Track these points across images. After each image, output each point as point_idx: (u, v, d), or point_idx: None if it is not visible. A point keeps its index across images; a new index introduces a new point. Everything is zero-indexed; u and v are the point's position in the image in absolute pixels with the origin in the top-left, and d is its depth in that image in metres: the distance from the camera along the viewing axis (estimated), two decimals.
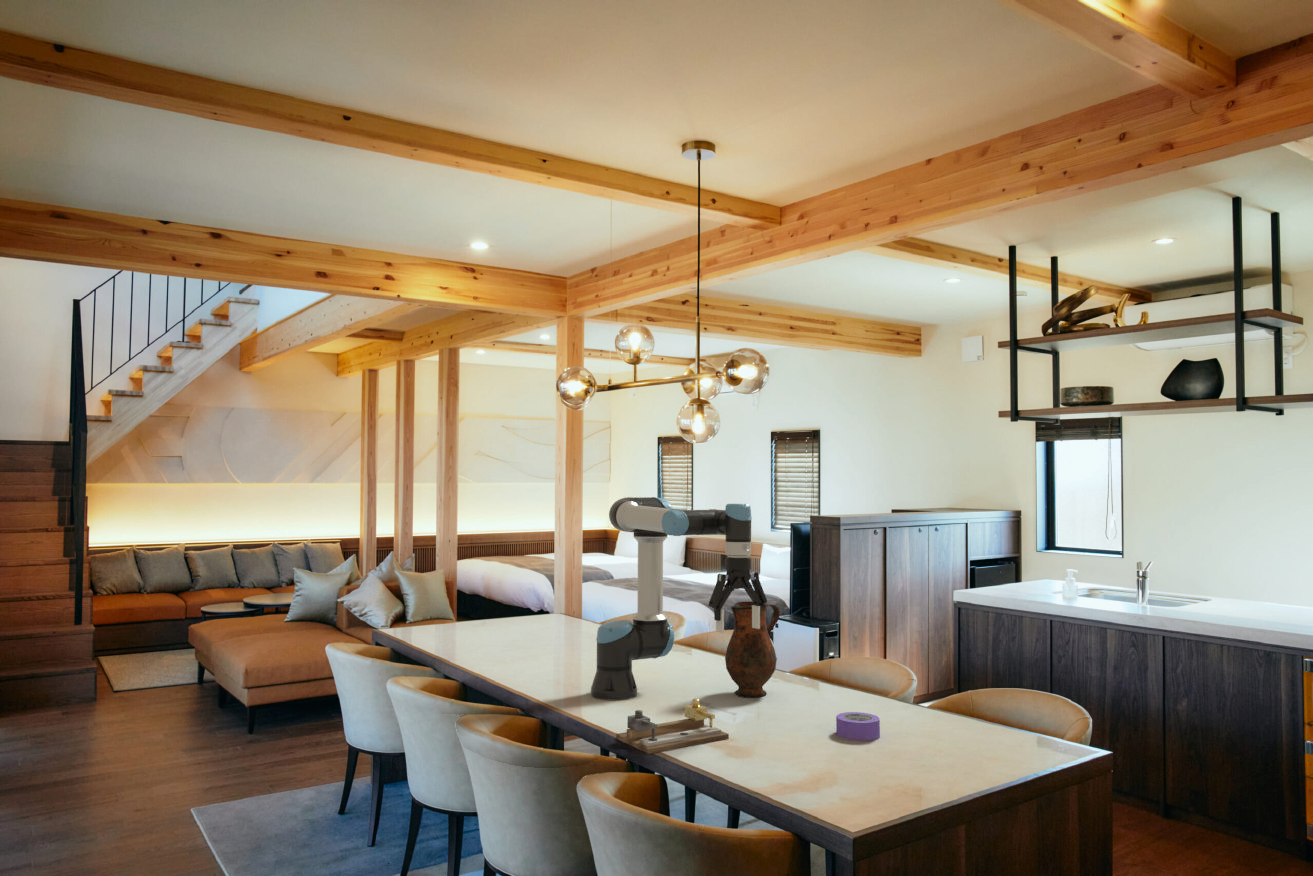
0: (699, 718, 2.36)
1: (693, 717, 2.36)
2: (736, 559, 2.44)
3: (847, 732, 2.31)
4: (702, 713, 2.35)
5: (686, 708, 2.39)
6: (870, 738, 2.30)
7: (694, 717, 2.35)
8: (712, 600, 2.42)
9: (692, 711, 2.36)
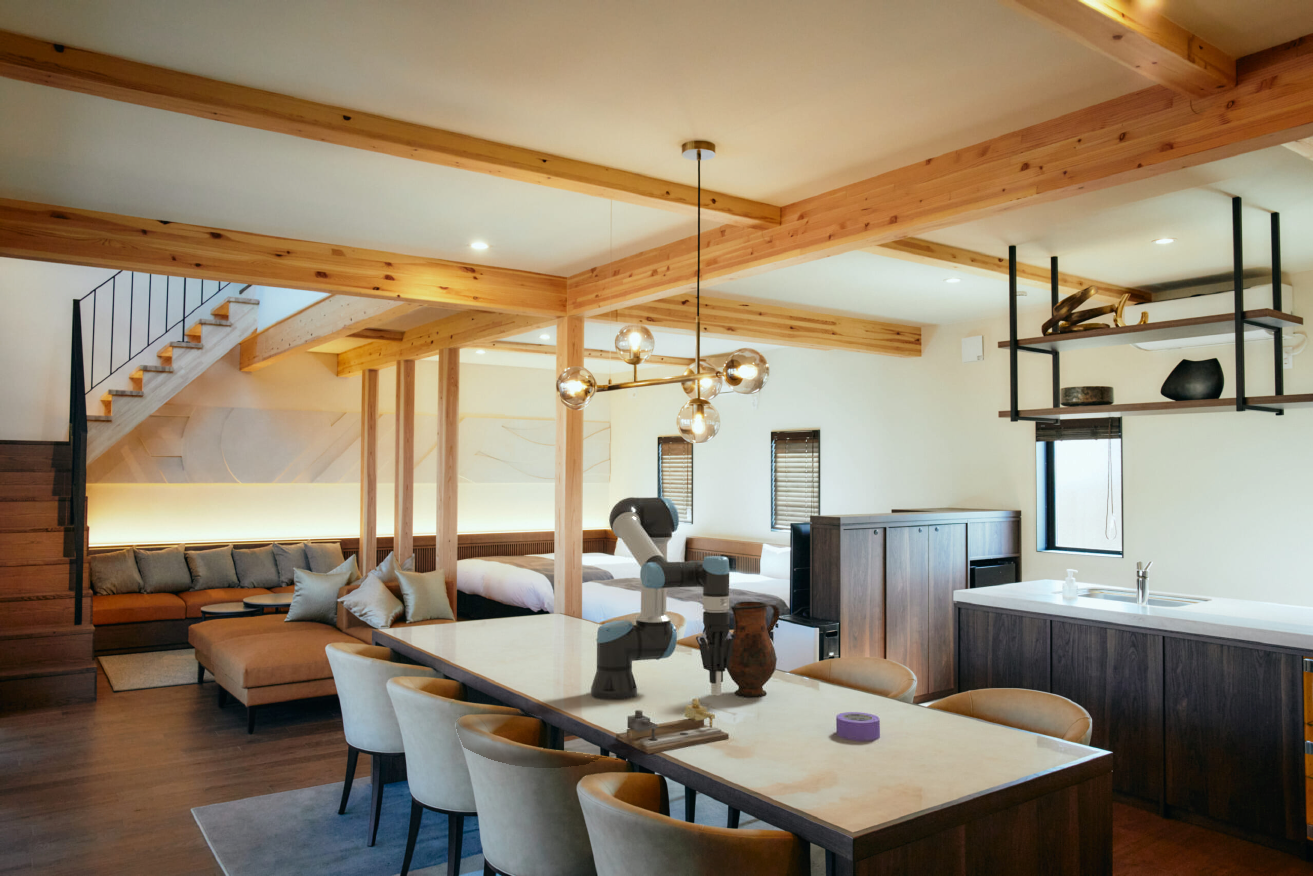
0: (699, 718, 2.36)
1: (693, 717, 2.36)
2: (713, 614, 2.40)
3: (847, 732, 2.31)
4: (702, 713, 2.35)
5: (686, 708, 2.39)
6: (870, 738, 2.30)
7: (694, 717, 2.35)
8: (705, 664, 2.41)
9: (692, 711, 2.36)
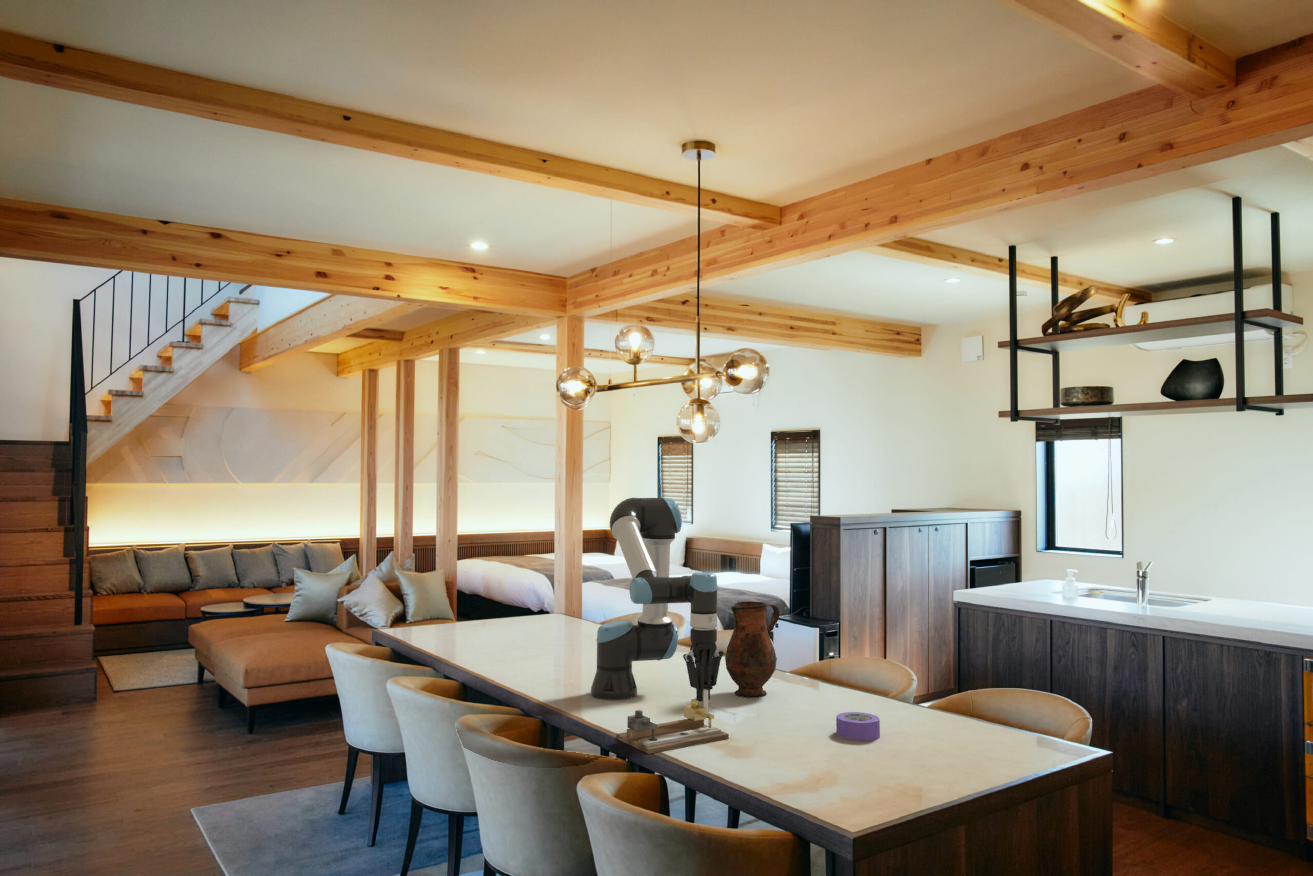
0: (698, 718, 2.36)
1: (692, 717, 2.36)
2: (701, 632, 2.38)
3: (847, 732, 2.31)
4: (701, 713, 2.34)
5: (685, 708, 2.38)
6: (870, 738, 2.30)
7: (693, 717, 2.35)
8: (692, 682, 2.38)
9: (691, 711, 2.36)
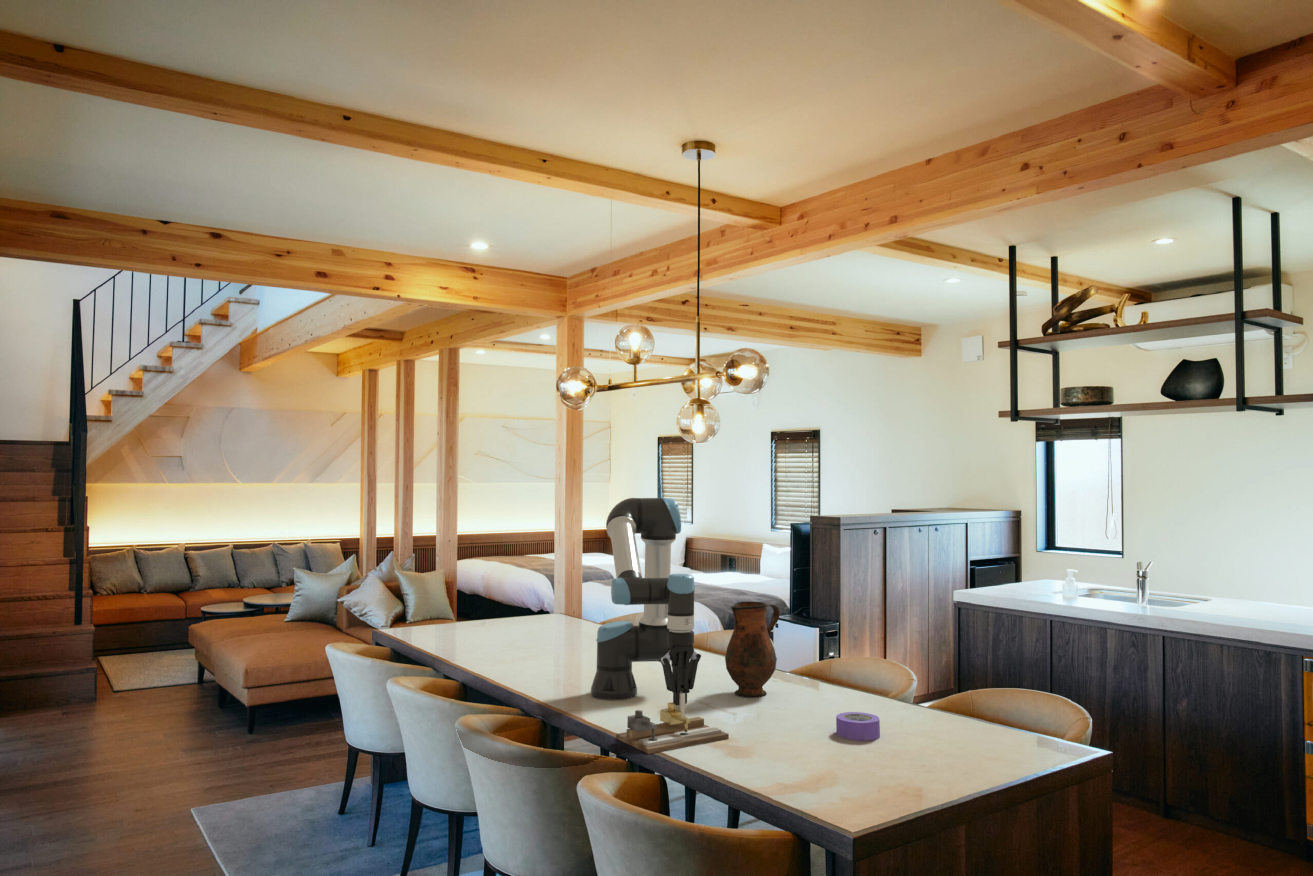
0: (674, 722, 2.31)
1: (668, 721, 2.31)
2: (677, 634, 2.33)
3: (847, 732, 2.31)
4: (677, 717, 2.30)
5: (661, 712, 2.34)
6: (870, 738, 2.30)
7: (669, 721, 2.31)
8: (668, 685, 2.34)
9: (667, 715, 2.32)
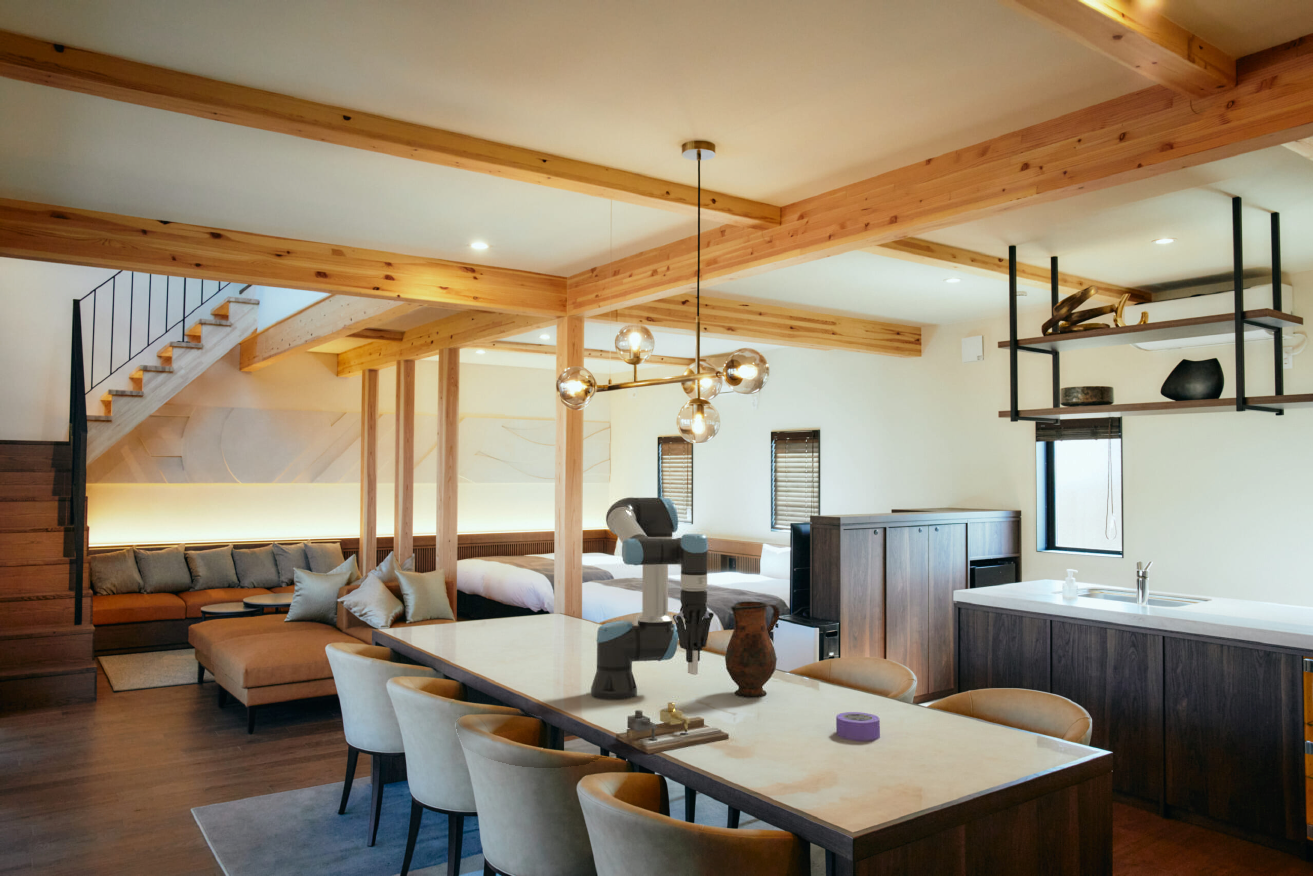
0: (674, 722, 2.31)
1: (668, 721, 2.31)
2: (691, 593, 2.36)
3: (847, 732, 2.31)
4: (677, 717, 2.30)
5: (661, 712, 2.34)
6: (870, 738, 2.30)
7: (669, 721, 2.31)
8: (681, 643, 2.37)
9: (667, 715, 2.32)
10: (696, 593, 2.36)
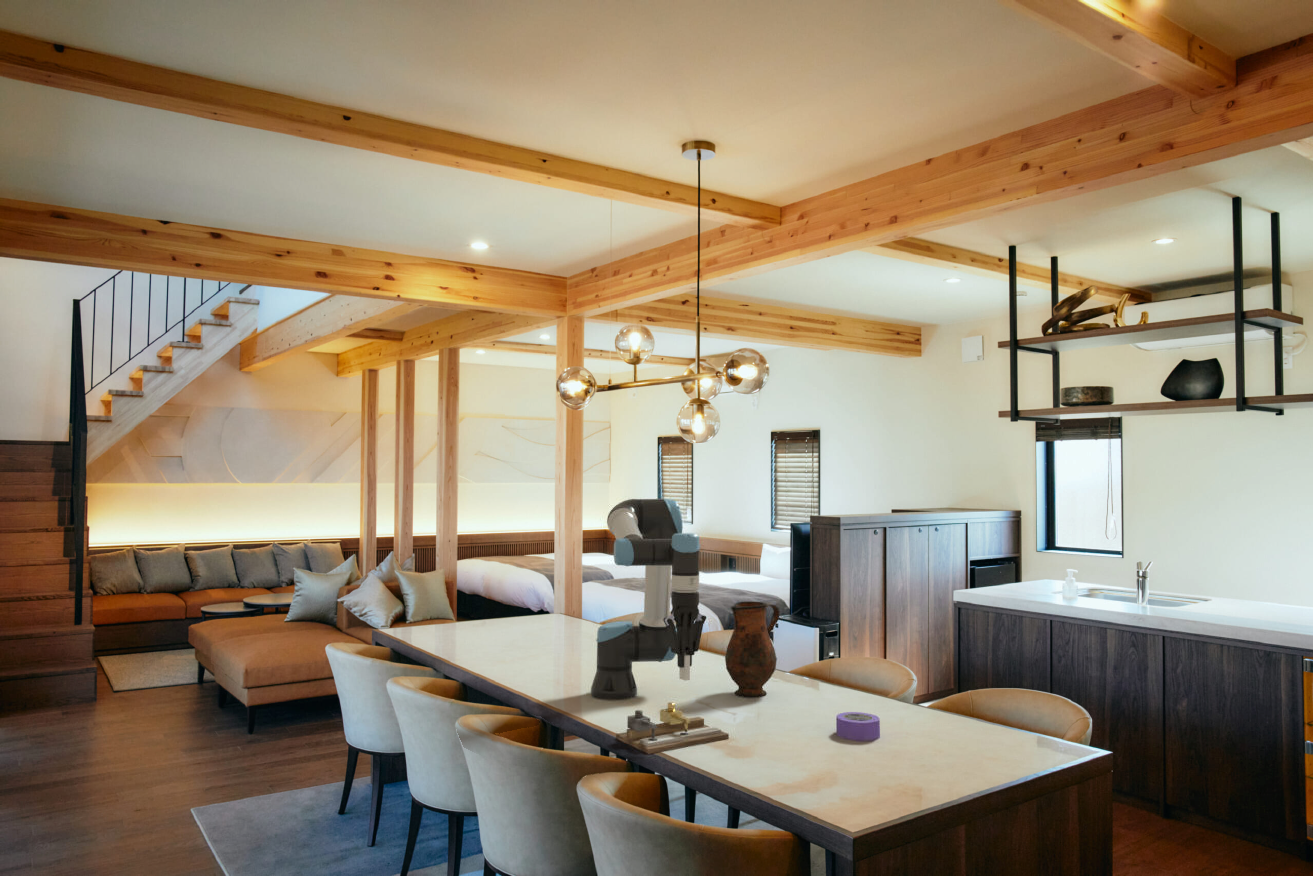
0: (674, 722, 2.31)
1: (668, 721, 2.31)
2: (682, 594, 2.26)
3: (847, 732, 2.31)
4: (677, 717, 2.30)
5: (661, 712, 2.34)
6: (870, 738, 2.30)
7: (669, 721, 2.31)
8: (672, 647, 2.27)
9: (667, 715, 2.32)
10: (687, 595, 2.26)
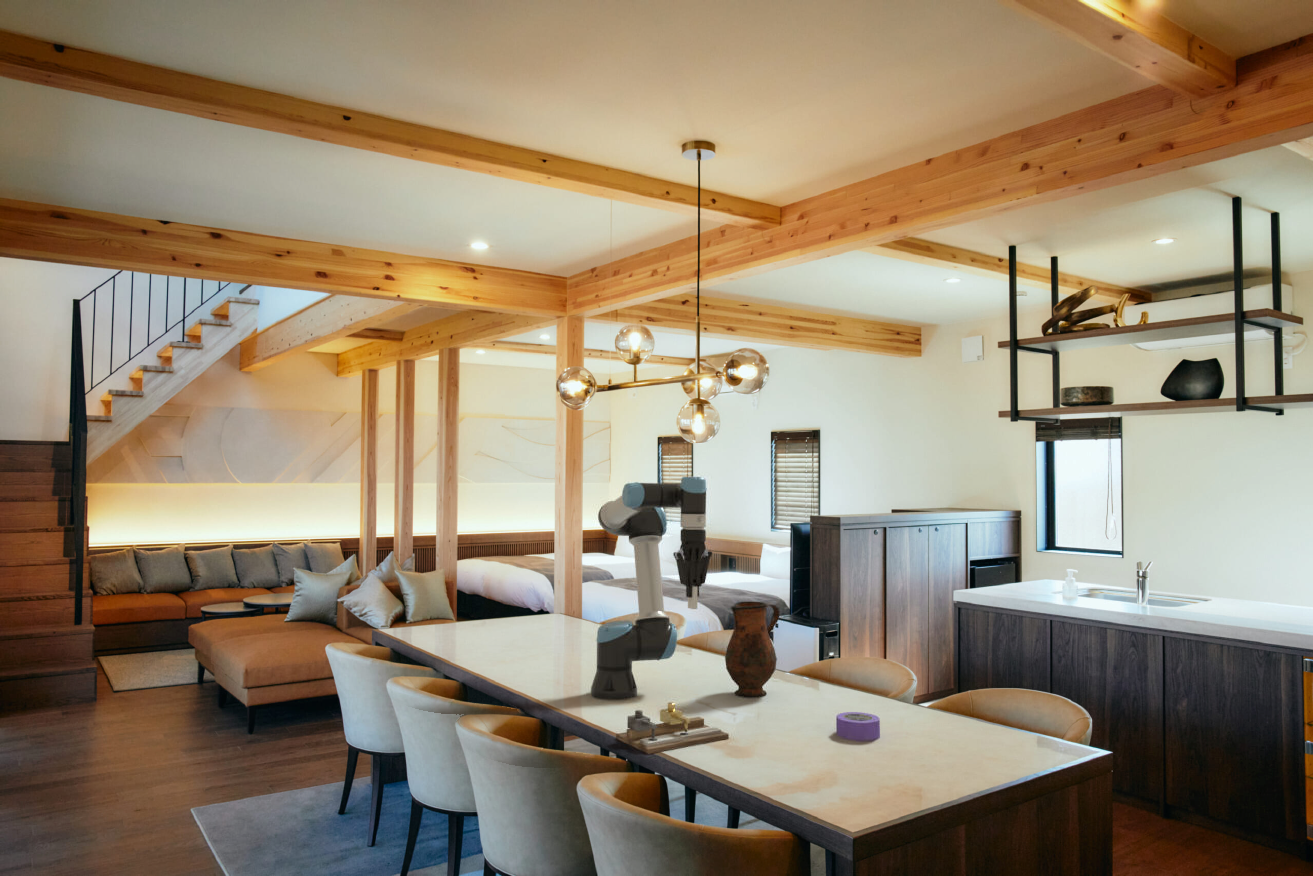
0: (674, 722, 2.31)
1: (668, 721, 2.31)
2: (690, 531, 2.49)
3: (847, 732, 2.31)
4: (677, 717, 2.30)
5: (661, 712, 2.34)
6: (870, 738, 2.30)
7: (669, 721, 2.31)
8: (681, 579, 2.50)
9: (667, 715, 2.32)
10: (695, 531, 2.49)
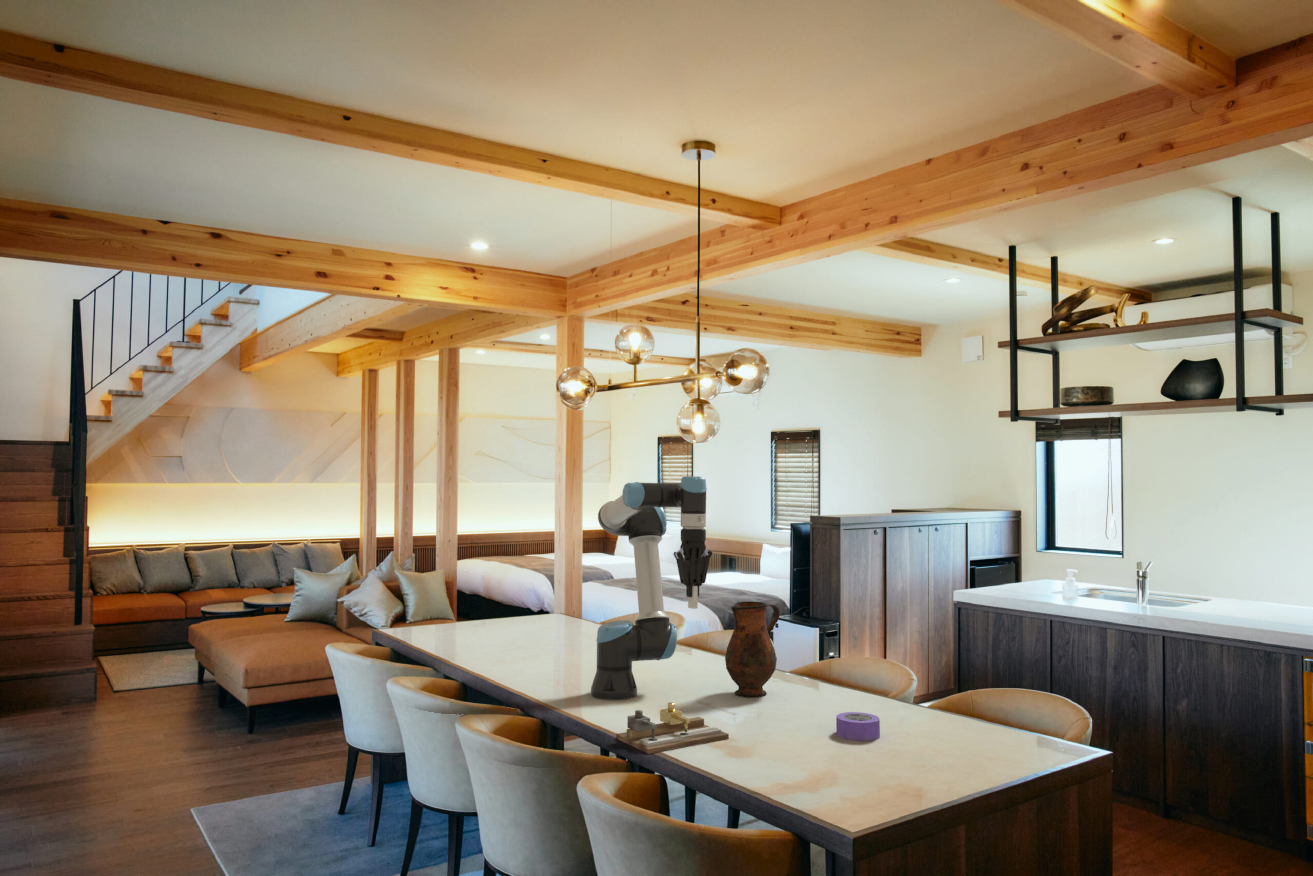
0: (674, 722, 2.31)
1: (668, 721, 2.31)
2: (690, 530, 2.50)
3: (847, 732, 2.31)
4: (677, 717, 2.30)
5: (661, 712, 2.34)
6: (870, 738, 2.30)
7: (669, 721, 2.31)
8: (682, 578, 2.50)
9: (667, 715, 2.32)
10: (695, 531, 2.49)
